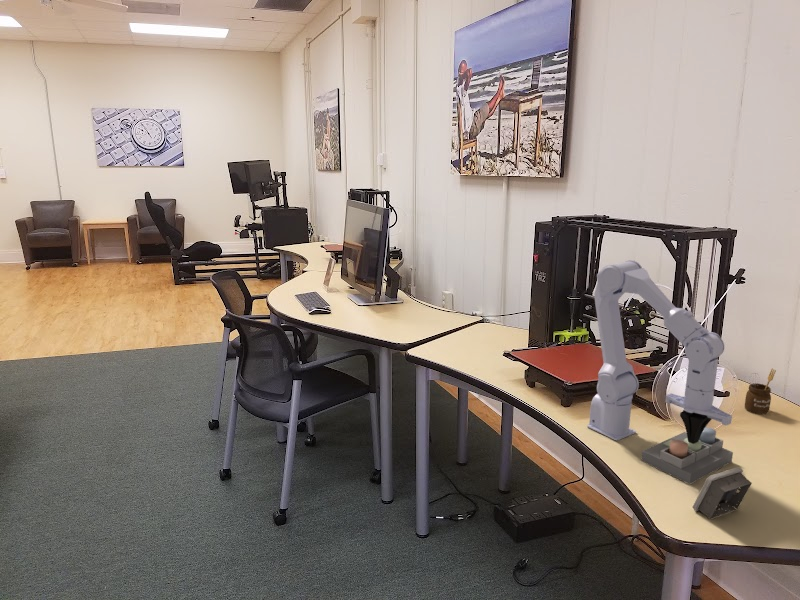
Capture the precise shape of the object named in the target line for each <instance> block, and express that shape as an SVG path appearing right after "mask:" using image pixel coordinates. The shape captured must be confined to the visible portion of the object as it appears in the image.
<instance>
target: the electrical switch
mask: <svg viewBox="0 0 800 600" xmlns="http://www.w3.org/2000/svg"><path fill="white" fill-rule="evenodd" d="M743 472H744V469H743V468H741V467H740V466H735V467H734V468H731V469H727V470H724V471H720V472H717V473H715V474H711V475H709V476H707V478H706V479H705V481H704V483H703V486H702V487H701V489H700V490H699V491H700V492H699V493H698V495H697V496H696V499H695V501H694V503H693V506H692V508H693V510H694V511H695V512H699V511H700V512H702V514H704V515H705V516H706V517H707V518H708V519H709V520H712V519H714V518H718V517H721V516H723V515H726V514H728V513H732V512H734V511H736V510H739V507H740V505H741V504H742V502H743V500H744V498H745V496H746V495H747V493H748V491H749V489H750V487H751V485H752V484H753V482H751V481H750V480H749V479H748V478H747V477H746V476H745V475H744V474H743Z"/></svg>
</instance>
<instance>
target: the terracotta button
mask: <svg viewBox="0 0 800 600" xmlns="http://www.w3.org/2000/svg"><path fill="white" fill-rule="evenodd" d="M687 450H688V444H687V443H686V442H684V441H682V440H671V441H670V450H669V452H670V454H672V455H673V456H676V457H686V456H687Z"/></svg>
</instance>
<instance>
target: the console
mask: <svg viewBox="0 0 800 600" xmlns="http://www.w3.org/2000/svg"><path fill="white" fill-rule="evenodd" d="M685 438H687V432H685V431H683V432H680V433H679V434H677V435H675V436H672V437H670V438H668V439H665V440H664V441H662V442H659V443H657V444H654V445H652V446H650V447H648V448H646V449H644V450H642V451H641V457H640V458H641V459H640V461H641V462H643V463H645V464H647V465H649V466H651V467H653V468H656V469H658V470H659V471H662V472H664V473H666V474H668V475H670V476H672V477H674V478H676V479H678V480H680V481H682V482H685V483H686V484H688V485H691V484H693V483H694V482H697V481H698V480H701V479H702V478H705V477H706V476H708V475H710V474H711V473H714V472H715V471H718V470H719V469H721V468H724V467H725V466H727V465H728V464H731V463H732V462H733V455H734V452H733V451H732V450H729V449H726V448H724V446H723V445H724V439H721V438H719V437H717V436H716V437H715V442H714V443H704V442H702V446H701V450H700V451H698V452H695V451H692V450H690V449H688V450H687V456H686V457H676V456H673V455H672V454H670V452H669V450H670V441H671V440H682V441H684V439H685Z"/></svg>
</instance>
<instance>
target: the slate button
mask: <svg viewBox="0 0 800 600" xmlns="http://www.w3.org/2000/svg"><path fill="white" fill-rule="evenodd" d="M716 435H717V430H715V429H714V428H712V427H708V426H706V427H705V428H704V430H703V432H702V434H701V436H700V439H699V440H700V441H701V442H704V443H714V442H715V437H716V438H717V436H716Z"/></svg>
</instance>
